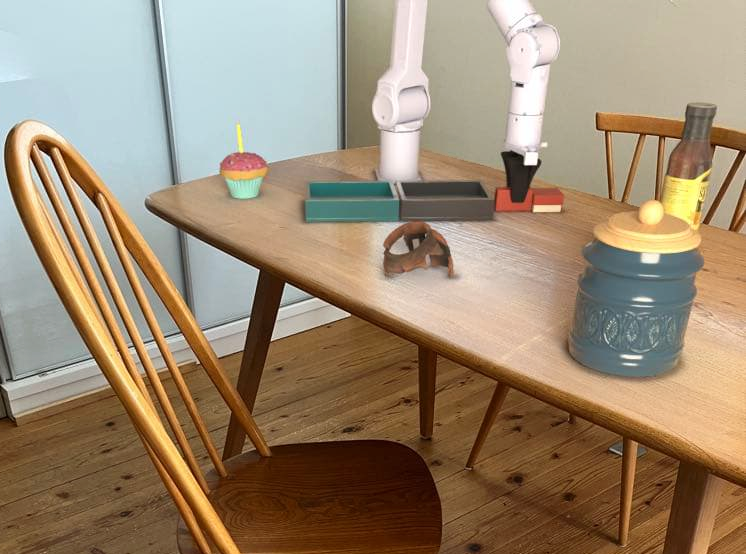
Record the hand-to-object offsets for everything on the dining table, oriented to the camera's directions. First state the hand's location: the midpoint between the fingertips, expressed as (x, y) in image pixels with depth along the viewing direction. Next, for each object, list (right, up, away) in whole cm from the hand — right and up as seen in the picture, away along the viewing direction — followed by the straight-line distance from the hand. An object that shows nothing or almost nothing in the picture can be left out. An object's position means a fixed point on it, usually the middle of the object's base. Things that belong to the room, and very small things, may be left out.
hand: (515, 199), depth 152 cm
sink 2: (-12, -2, 0) cm, 13 cm away
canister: (+4, -36, -46) cm, 59 cm away
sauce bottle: (+21, -13, -15) cm, 29 cm away
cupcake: (-46, +3, +7) cm, 47 cm away
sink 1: (-28, -2, -1) cm, 28 cm away
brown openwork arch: (-19, -20, -24) cm, 37 cm away
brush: (+2, -1, +1) cm, 2 cm away
